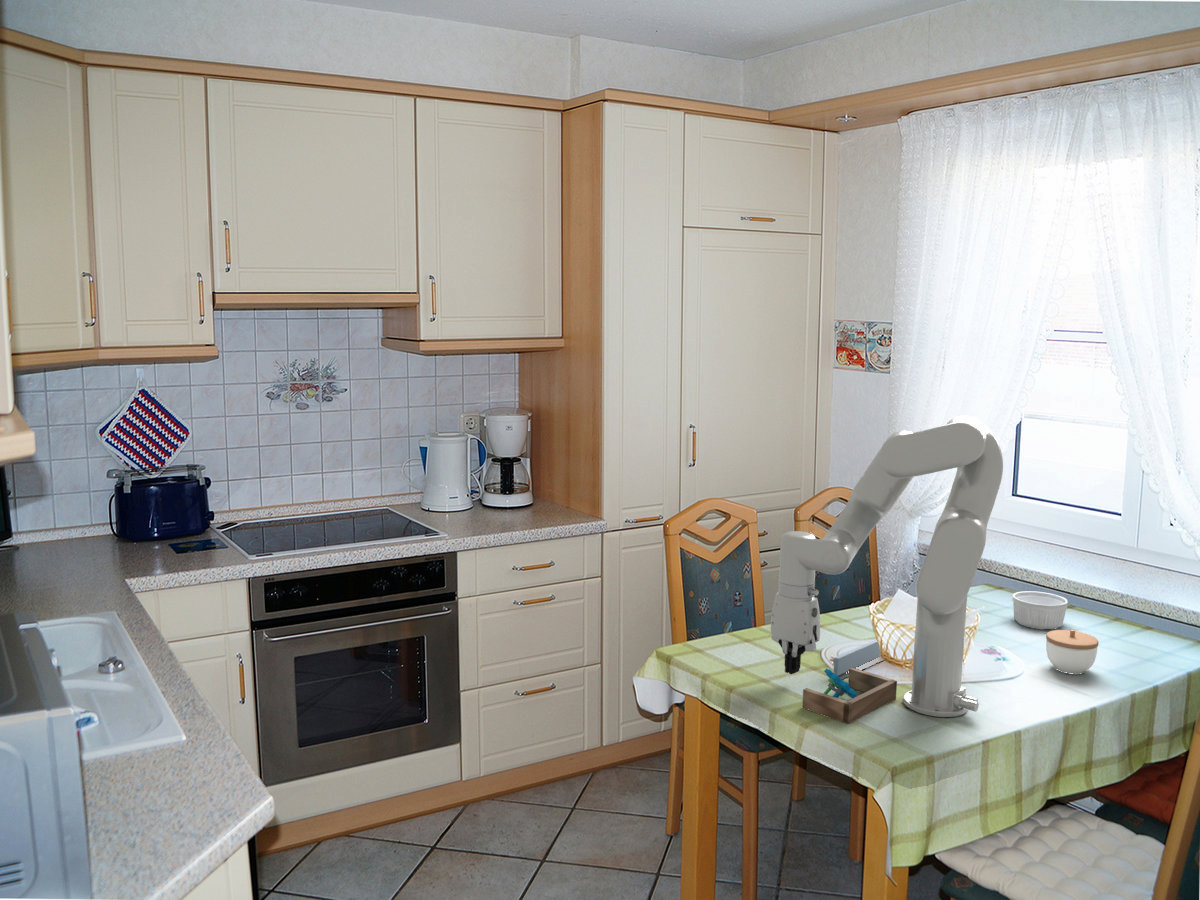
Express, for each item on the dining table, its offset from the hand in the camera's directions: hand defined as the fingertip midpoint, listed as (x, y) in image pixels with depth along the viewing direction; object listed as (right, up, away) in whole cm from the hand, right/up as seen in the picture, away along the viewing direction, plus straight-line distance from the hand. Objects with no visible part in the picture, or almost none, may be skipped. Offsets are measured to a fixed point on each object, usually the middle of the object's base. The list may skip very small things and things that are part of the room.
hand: (792, 671), depth 217 cm
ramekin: (+73, +2, +45) cm, 85 cm away
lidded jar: (+65, -2, +11) cm, 66 cm away
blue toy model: (+9, -5, -9) cm, 13 cm away
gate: (+17, -2, +11) cm, 20 cm away
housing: (+15, -3, -1) cm, 15 cm away
